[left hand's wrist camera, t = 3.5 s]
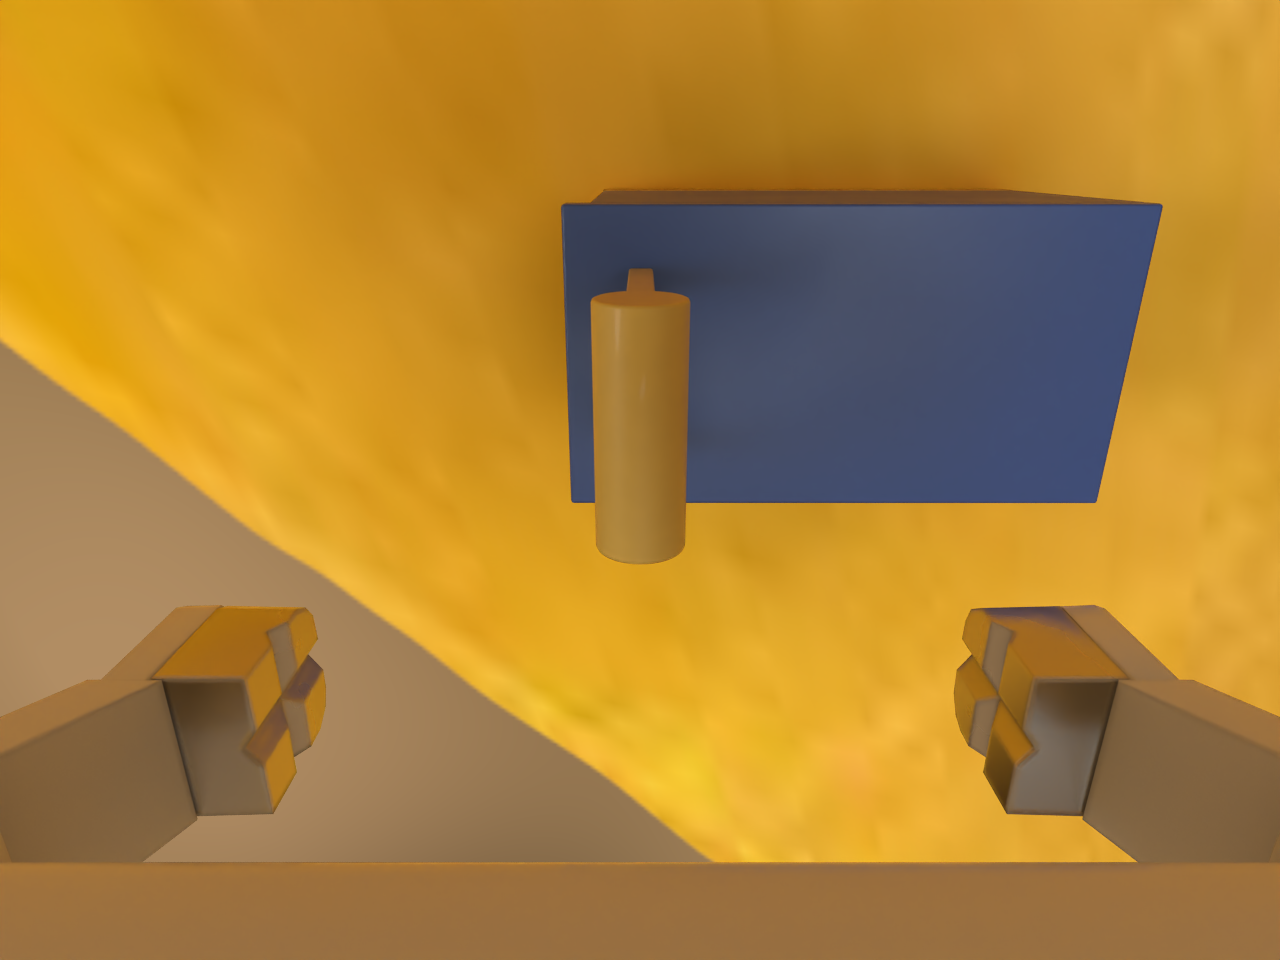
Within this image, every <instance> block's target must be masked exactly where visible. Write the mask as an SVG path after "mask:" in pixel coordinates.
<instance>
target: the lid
mask: <svg viewBox="0 0 1280 960" xmlns="http://www.w3.org/2000/svg"><path fill="white" fill-rule="evenodd" d="M1161 212H1162V205H1161V204H1157V203H565V204H563V205H562V207H561V216H562V245H563V274H564V303H565V332H566V361H567V390H568V419H569V448H570V477H571V501H572V502H573V503H595V516H596V545H597V548H598V550H599V551H600V552H601V553H602V554H603V555H604V556H606V557H608V558H610V559H612V560H615V561H618V562H623V563H629V564H653V563H659V562H663V561H666V560H669V559H671V558H673V557H675V556H677V555H678V554H679V553H680V552H681V551H682V550H683V548H684V546H685V521H686V503H1096V501H1097V497H1098V493H1099V488H1100V484H1101V479H1102V475H1103V470H1104V466H1105V462H1106V457H1107V453H1108V448H1109V444H1110V439H1111V435H1112V430H1113V426H1114V421H1115V417H1116V412H1117V408H1118V404H1119V399H1120V395H1121V390H1122V386H1123V381H1124V377H1125V372H1126V368H1127V363H1128V359H1129V355H1130V350H1131V346H1132V341H1133V337H1134V332H1135V328H1136V323H1137V319H1138V314H1139V310H1140V305H1141V301H1142V297H1143V292H1144V288H1145V283H1146V279H1147V274H1148V270H1149V265H1150V261H1151V256H1152V252H1153V248H1154V243H1155V239H1156V234H1157V230H1158V225H1159V221H1160V216H1161Z"/></svg>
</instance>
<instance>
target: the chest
mask: <svg viewBox="0 0 1280 960" xmlns="http://www.w3.org/2000/svg"><path fill="white" fill-rule="evenodd" d="M591 203H1144V202H1135V201H1124V200H1113V199H1101V198H1090V197H1079V196H1067V195H1056V194H1045V193H1034V192H1022V191H1011V190H1004V189H635V190H603V192H602V193H601V194H600V195H599V196H598V197H597V198H595V199H594V200H593V201H592V202H591Z"/></svg>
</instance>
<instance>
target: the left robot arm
mask: <svg viewBox="0 0 1280 960" xmlns="http://www.w3.org/2000/svg"><path fill="white" fill-rule="evenodd" d="M317 639H318V637H317V633H316V628H315V623H314V618H313V615H312V614H311V613H310V612H309V611H308V610H307V609H306V608H302V607H250V606H226V607H224V606H222V605H213V606H185V607H178V608H176V609H175V610H173V611H172V612H171V613H170V614H169V615H168V616H167V617H166V618H165V619H164V620H163V621H162V622H161V623H160V624H159V625H158V626H157V627H156V628H155V629H154V630H153V631H151V632H150V633H149V634H148V635H147V636H146V637H145V638H144V639H143V640H142V641H141V642H140V643H139V644H138V645H137V646H136V647H135V648H134V649H133V650H132V651H131V652H130V653H128V654H127V655H126V656H125V657H124V658H123V659H122V660H121V661H120V662H119V663H118V664H117V665H116V666H115V667H114V668H113V669H112V670H111V671H110V672H109V673H108V674H107V675H105V676H104V677H103V678H102V679H101V680H86V681H84V682H81V683H79V684H77V685H74V686H72V687H70V688H67V689H65V690H63V691H60V692H58V693H55V694H53V695H51V696H48V697H46V698H44V699H41V700H39V701H37V702H34V703H32V704H30V705H27V706H25V707H23V708H20V709H18V710H16V711H13V712H11V713H9V714H6V715H4V716H2V717H0V960H1280V717H1278V716H1276V715H1274V714H1271V713H1269V712H1267V711H1264V710H1262V709H1260V708H1257V707H1255V706H1253V705H1250V704H1248V703H1245V702H1243V701H1241V700H1238V699H1236V698H1234V697H1231V696H1229V695H1227V694H1224V693H1222V692H1220V691H1217V690H1215V689H1213V688H1210V687H1208V686H1206V685H1203V684H1201V683H1199V682H1196V681H1194V680H1179V679H1178V678H1177V677H1176V676H1175V675H1174V674H1173V673H1171V672H1170V671H1169V670H1168V669H1167V668H1166V667H1165V666H1164V665H1163V664H1162V663H1161V662H1160V661H1159V660H1158V659H1157V658H1156V657H1155V656H1154V655H1153V654H1152V653H1151V652H1150V651H1149V650H1147V649H1146V648H1145V647H1144V646H1143V645H1142V644H1141V643H1140V642H1139V641H1138V640H1137V639H1136V638H1135V637H1134V636H1133V635H1132V634H1131V633H1130V632H1129V631H1128V630H1127V629H1126V628H1125V627H1124V626H1122V625H1121V624H1120V623H1119V622H1118V621H1117V620H1116V619H1115V618H1114V617H1113V616H1112V615H1111V614H1110V613H1109V612H1108V611H1107V610H1106V609H1104V608H1101V607H1098V606H1095V605H1083V606H1051V607H1010V608H978V609H971V611H970V613H969V615H968V617H967V619H966V621H965V626H964V632H963V637H962V639H963V641H964V643H965V644H966V646H967V647H968V649H969V650H970V652H971V653H972V655H971V656H970V657H969V658H968V659H967V660H966V661H965V662H964V663H963V664H962V665H961V666H960V667H959V668H958V669H957V673H956V680H955V688H954V701H955V712H956V718H957V721H958V724H959V727H960V730H961V733H962V735H963V736H964V738H965V740H966V742H967V744H968V746H969V747H971V748H973V749H974V750H976V751H977V752H979V753H980V754H982V755H983V756H985V757H986V760H985V765H984V771H983V773H984V774H985V776H986V778H987V780H988V782H989V783H990V785H991V787H992V789H993V790H994V792H995V794H996V796H997V797H998V799H999V801H1000V803H1001V804H1002V806H1003V808H1004V810H1005V811H1006V813H1007V814H1026V815H1063V816H1083V820H1084V821H1085V822H1087V823H1088V824H1089V825H1090V826H1092V827H1093V828H1094V829H1096V830H1097V831H1098V832H1100V833H1101V834H1102V835H1103V836H1105V837H1106V838H1107V839H1109V840H1110V841H1111V842H1113V843H1114V844H1115V845H1116V846H1118V847H1119V848H1120V849H1122V850H1123V851H1124V852H1126V853H1127V854H1128V855H1129V856H1131V857H1132V858H1133V859H1135V860H1136V861H1137V862H676V863H675V862H667V863H666V862H654V863H653V862H645V863H644V862H637V863H636V862H627V863H626V862H624V863H623V862H616V863H615V862H603V863H602V862H599V863H598V862H587V863H586V862H584V863H583V862H580V863H579V862H569V863H568V862H552V863H551V862H550V863H548V862H544V863H542V862H538V863H537V862H534V863H533V862H532V863H530V862H525V863H523V862H516V863H515V862H514V863H513V862H509V863H508V862H505V863H504V862H493V863H492V862H480V863H479V862H143V861H144V860H146V859H147V858H148V857H149V856H151V855H152V854H153V853H155V852H156V851H157V850H159V849H160V848H161V847H163V846H164V845H165V844H166V843H168V842H169V841H170V840H172V839H173V838H174V837H176V836H177V835H178V834H179V833H181V832H182V831H183V830H185V829H186V828H187V827H189V826H190V825H191V824H192V823H194V822H195V821H196V820H197V816H216V815H252V814H273V813H274V812H275V810H276V808H277V806H278V805H279V803H280V801H281V799H282V797H283V796H284V794H285V792H286V790H287V789H288V787H289V785H290V783H291V782H292V780H293V778H294V776H295V774H296V773H297V771H296V765H295V760H294V757H295V756H297V755H298V754H300V753H301V752H303V751H304V750H306V749H307V748H309V747H311V746H312V744H313V742H314V740H315V738H316V736H317V734H318V732H319V731H320V728H321V724H322V719H323V715H324V711H325V707H326V685H325V679H324V672H323V669H322V668H321V667H320V666H319V665H318V664H317V663H316V662H315V661H314V660H313V659H312V658H311V657H310V656H309V655H308V653H309V652H310V650H311V649H312V647H313V646H314V644H315V643H316V641H317Z"/></svg>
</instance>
